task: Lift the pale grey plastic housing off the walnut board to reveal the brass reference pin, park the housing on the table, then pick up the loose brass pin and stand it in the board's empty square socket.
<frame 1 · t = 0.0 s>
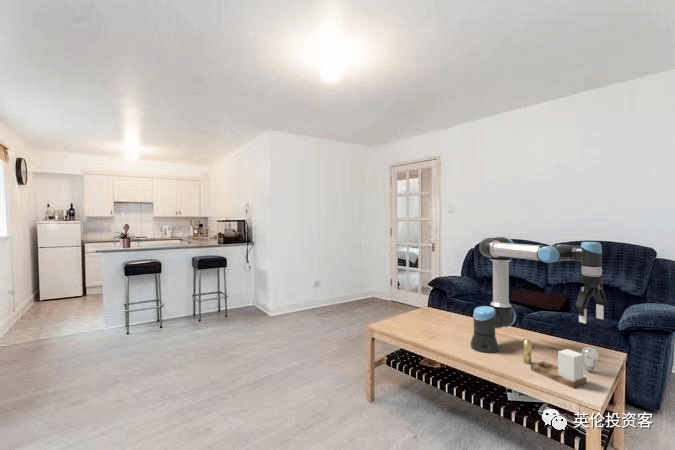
hand: (591, 320, 152), 28 cm above the table, fingers open, 13 cm apart
pin: (527, 362, 172), on the table
housing: (570, 376, 151), point 2 cm above the table, touching board
board: (557, 376, 157), on the table
light bulb: (590, 372, 161), on the table
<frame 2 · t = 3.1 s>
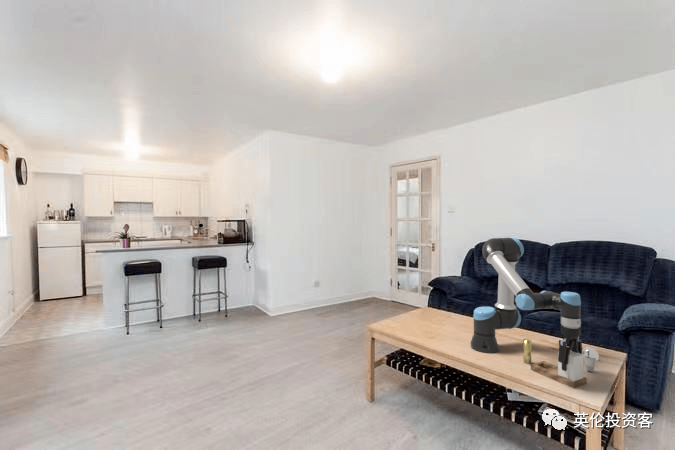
hand: (570, 375, 151), 3 cm above the table, fingers closed on housing, 7 cm apart
housing: (570, 376, 151), point 3 cm above the table, touching board, gripper
everything else where it was.
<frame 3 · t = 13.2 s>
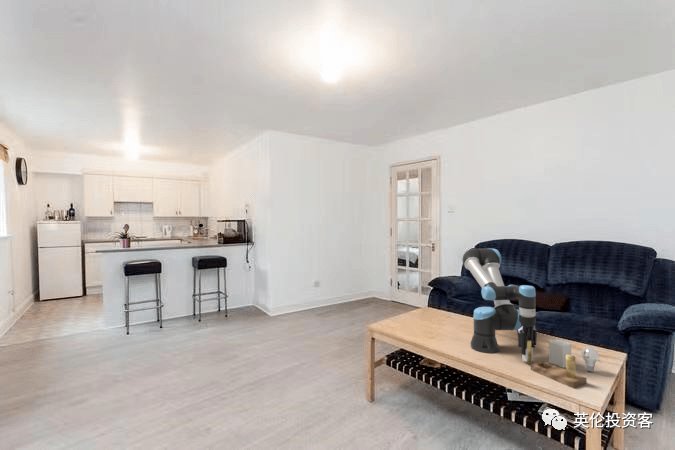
hand: (527, 359, 172), 2 cm above the table, fingers closed on pin, 3 cm apart
pin: (527, 362, 172), on the table, touching gripper
housing: (559, 363, 170), on the table
everything else where it was.
when the fingers open (3 cm above the table, at t = 17.5 s): pin stays where it is, resting in board.
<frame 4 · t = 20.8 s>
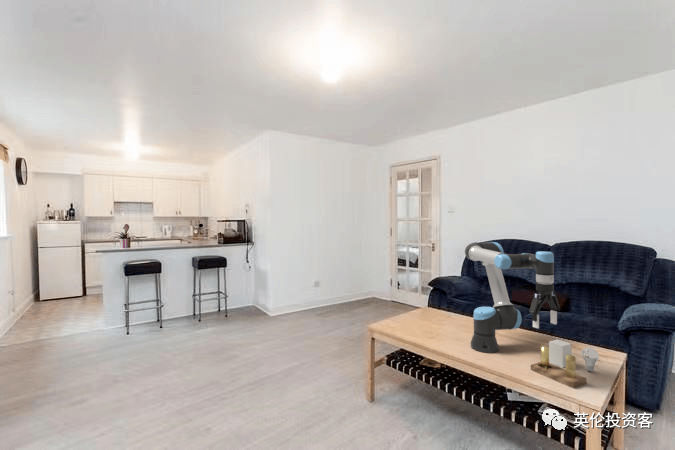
hand: (544, 325, 162), 23 cm above the table, fingers open, 13 cm apart
pin: (544, 371, 162), resting in board
everything else where it was.
at the end: pin 0.0 cm from the target spot on the board, point 0.0 cm above the board's base; pin tilted 0°; housing moved 20.6 cm from its start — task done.
